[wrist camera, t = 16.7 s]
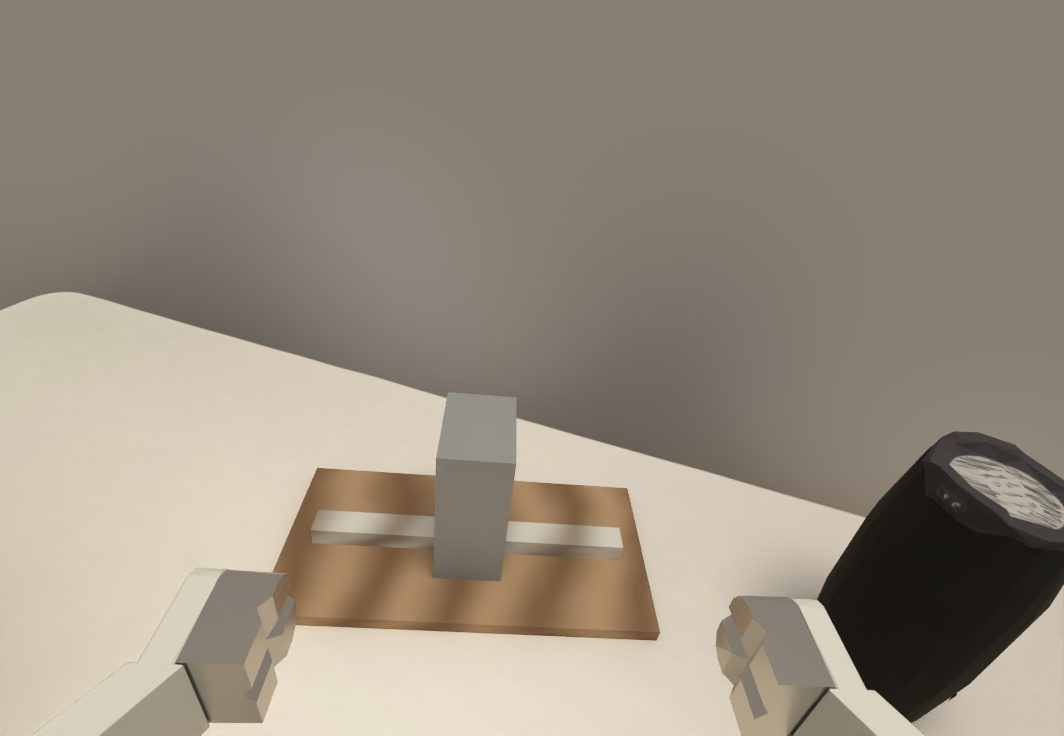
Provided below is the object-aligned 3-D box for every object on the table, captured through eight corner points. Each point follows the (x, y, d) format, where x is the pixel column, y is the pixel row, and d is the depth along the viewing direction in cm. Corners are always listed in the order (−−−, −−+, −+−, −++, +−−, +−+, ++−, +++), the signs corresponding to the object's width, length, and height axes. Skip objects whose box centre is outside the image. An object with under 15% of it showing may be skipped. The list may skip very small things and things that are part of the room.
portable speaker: (953, 723, 37) (1170, 532, 27) (841, 756, 35) (1030, 560, 24) (861, 609, 44) (1005, 420, 33) (762, 630, 42) (882, 432, 31)
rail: (256, 622, 38) (250, 600, 36) (318, 476, 49) (315, 455, 48) (656, 640, 40) (665, 620, 39) (624, 496, 52) (630, 476, 50)
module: (432, 577, 41) (435, 458, 34) (443, 506, 47) (447, 392, 40) (500, 581, 41) (516, 463, 35) (503, 509, 47) (516, 397, 41)
